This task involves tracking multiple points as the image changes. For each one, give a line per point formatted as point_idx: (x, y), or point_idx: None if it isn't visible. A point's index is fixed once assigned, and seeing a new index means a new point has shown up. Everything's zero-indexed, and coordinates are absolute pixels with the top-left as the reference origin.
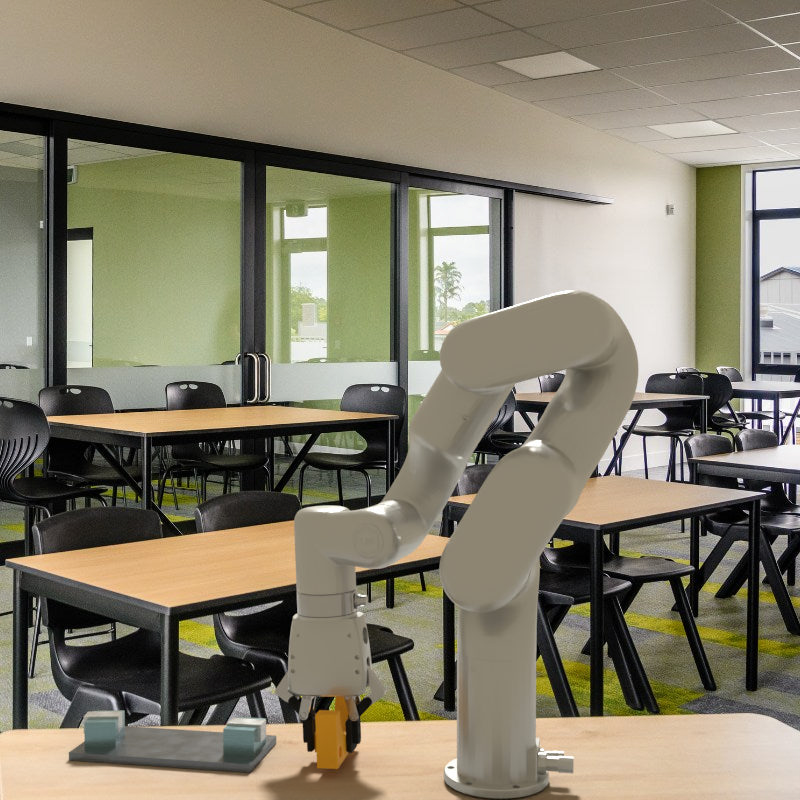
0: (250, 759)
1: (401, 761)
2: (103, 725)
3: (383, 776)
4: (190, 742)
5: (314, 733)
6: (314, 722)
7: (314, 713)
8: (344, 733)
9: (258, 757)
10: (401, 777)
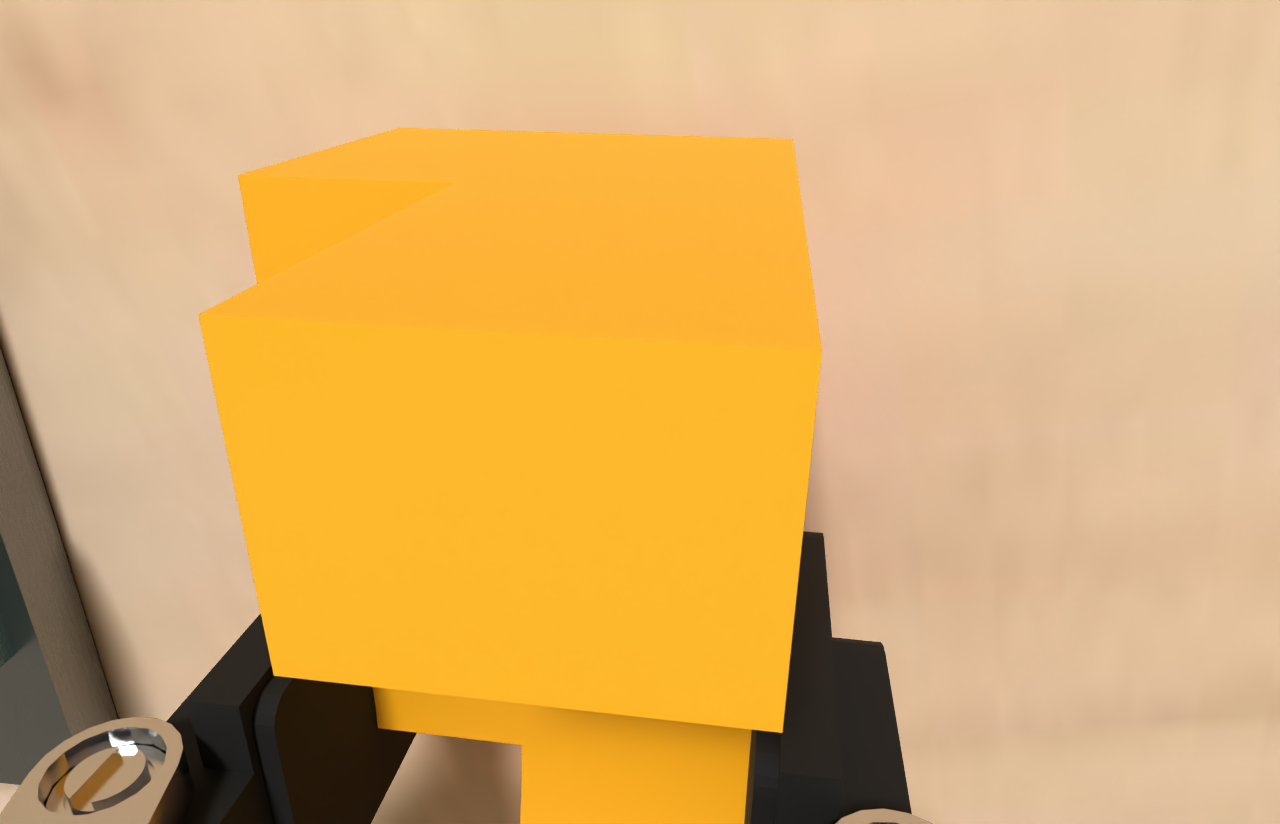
0: (37, 715)
1: (1242, 447)
2: None
3: (1059, 747)
4: None
5: (378, 723)
6: (321, 802)
7: (240, 807)
8: (706, 750)
9: (49, 624)
10: (1206, 756)
